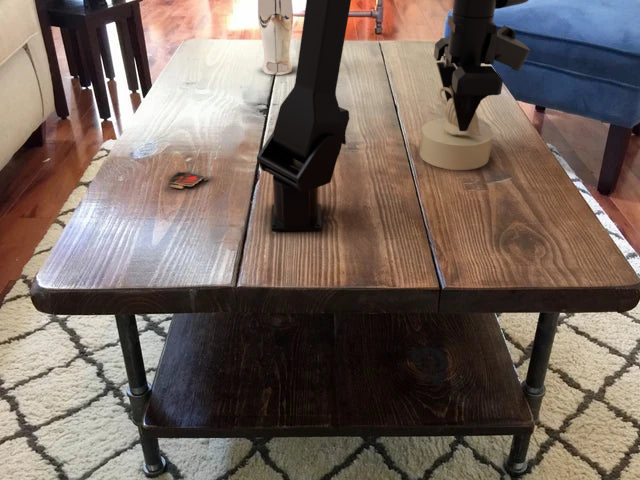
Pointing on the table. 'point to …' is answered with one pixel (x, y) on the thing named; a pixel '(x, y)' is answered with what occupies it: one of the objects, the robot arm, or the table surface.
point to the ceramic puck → (454, 147)
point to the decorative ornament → (451, 119)
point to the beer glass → (276, 34)
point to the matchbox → (185, 179)
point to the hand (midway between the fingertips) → (458, 121)
